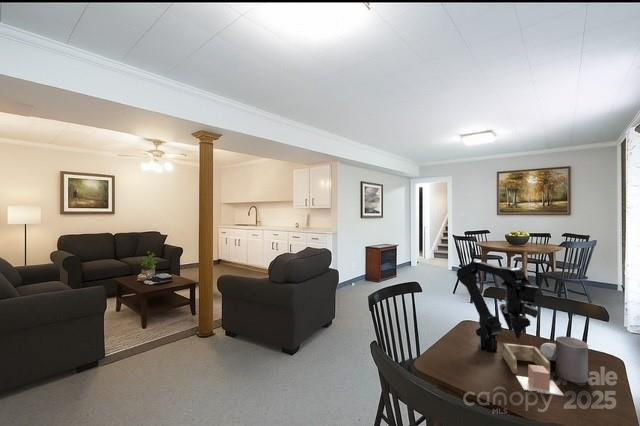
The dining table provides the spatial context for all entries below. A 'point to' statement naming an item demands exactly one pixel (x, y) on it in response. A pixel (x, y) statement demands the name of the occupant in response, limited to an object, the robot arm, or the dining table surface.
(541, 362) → the open front box
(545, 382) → the terracotta block
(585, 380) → the pillar candle
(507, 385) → the dining table surface
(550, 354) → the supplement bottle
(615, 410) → the dining table surface
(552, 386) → the cream mat
